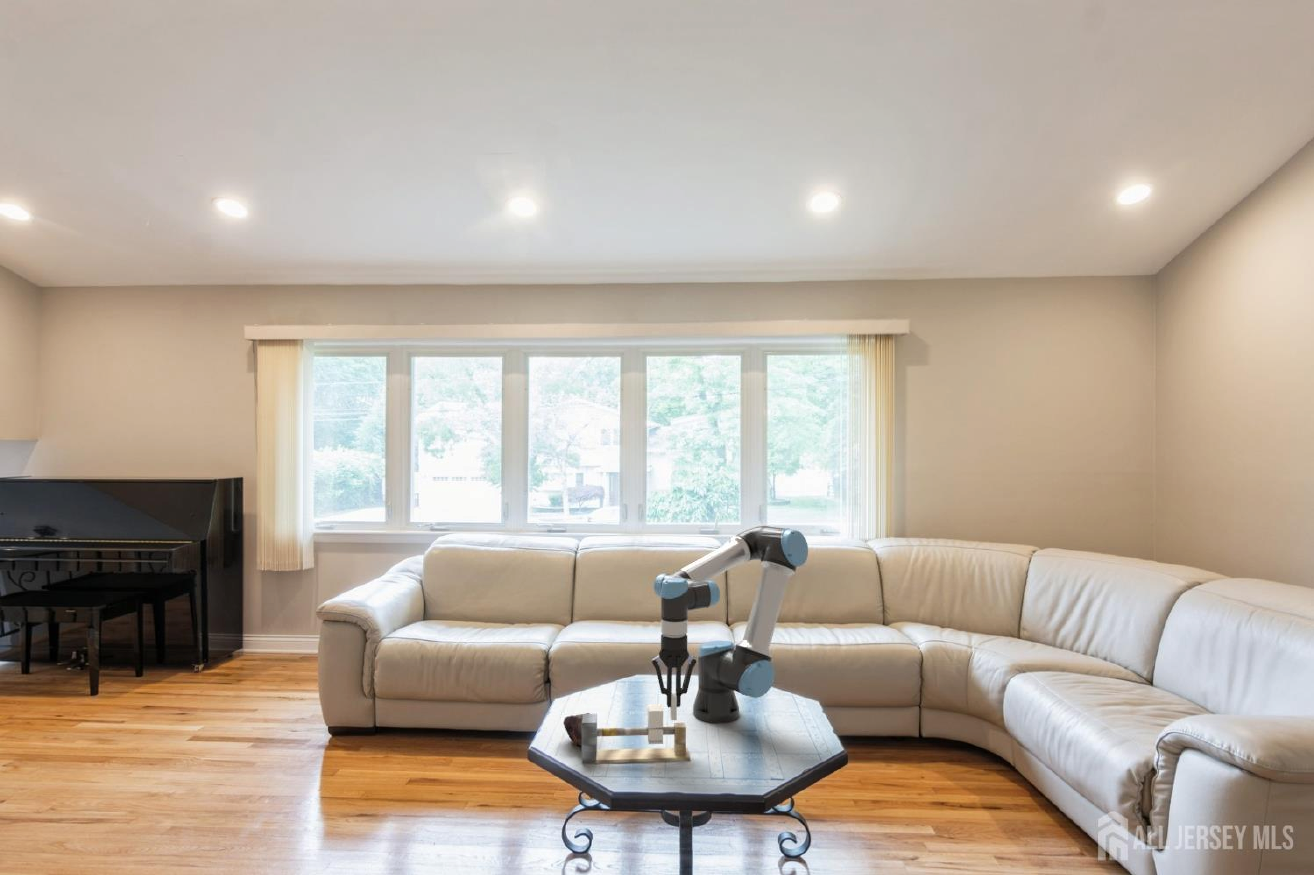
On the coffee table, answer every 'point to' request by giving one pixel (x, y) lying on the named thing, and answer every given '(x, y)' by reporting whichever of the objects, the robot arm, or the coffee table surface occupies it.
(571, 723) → the rock
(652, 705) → the sleeve
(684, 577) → the robot arm
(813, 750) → the coffee table surface
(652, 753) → the rail
